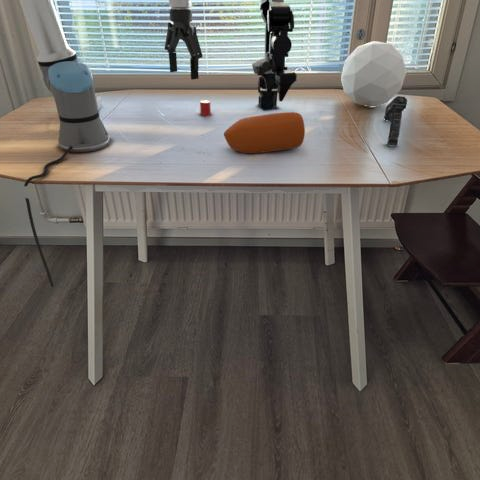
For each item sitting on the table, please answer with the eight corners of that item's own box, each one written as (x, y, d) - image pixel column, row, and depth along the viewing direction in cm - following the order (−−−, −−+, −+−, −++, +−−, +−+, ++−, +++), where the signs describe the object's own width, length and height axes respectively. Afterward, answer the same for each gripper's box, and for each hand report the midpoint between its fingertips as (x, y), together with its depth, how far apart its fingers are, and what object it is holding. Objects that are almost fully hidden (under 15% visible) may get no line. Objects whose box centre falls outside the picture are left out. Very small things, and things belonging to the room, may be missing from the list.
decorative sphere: (326, 73, 174) (348, 26, 151) (380, 71, 178) (409, 25, 155) (338, 120, 167) (363, 79, 144) (393, 117, 171) (427, 77, 148)
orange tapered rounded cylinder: (228, 162, 123) (308, 151, 124) (223, 128, 117) (309, 117, 118) (224, 147, 133) (299, 137, 134) (220, 115, 127) (299, 104, 128)
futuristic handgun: (389, 146, 153) (397, 104, 149) (399, 145, 125) (409, 94, 122) (379, 144, 154) (386, 103, 150) (386, 144, 126) (395, 93, 122)
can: (212, 114, 155) (212, 101, 153) (205, 116, 153) (204, 103, 150) (205, 112, 158) (205, 99, 155) (198, 114, 155) (197, 101, 153)
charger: (106, 102, 166) (96, 114, 153) (83, 102, 165) (72, 114, 153) (104, 90, 163) (94, 101, 151) (80, 90, 163) (69, 101, 150)
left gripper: (212, 11, 130) (212, 80, 142) (170, 4, 145) (173, 67, 157) (192, 12, 126) (195, 83, 138) (151, 5, 141) (157, 70, 153)
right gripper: (244, 46, 139) (243, 92, 148) (268, 56, 125) (265, 107, 134) (273, 44, 143) (270, 90, 151) (299, 54, 128) (295, 104, 137)
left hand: (183, 75), depth 147 cm, fingers open, 13 cm apart
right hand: (274, 97), depth 143 cm, fingers open, 9 cm apart
